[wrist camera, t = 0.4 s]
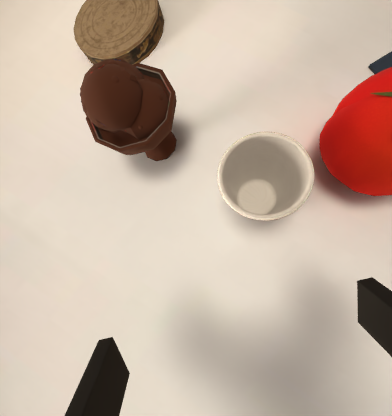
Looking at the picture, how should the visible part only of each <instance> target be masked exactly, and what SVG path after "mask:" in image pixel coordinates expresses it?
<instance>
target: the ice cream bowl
mask: <svg viewBox="0 0 392 416" xmlns="http://www.w3.org/2000/svg"><path fill="white" fill-rule="evenodd" d="M80 90H81V92H80V96H81V102H82V106H83V110H84V112H85V114H86V116H87V117H86V120H87V123H88V125H89V127H90V130H91V132H92V135H93V137H94V139H95V142H98V143H100V144H102V145H104V146H107V147H109V148H111V149H114V150H116V151H118V152H120V153H123V154H125V155H133V154H137V153H141V152H145V153H146V155H147V157H148V158H150V159H153V160H155V161H159V160H163V159H167V158H168V157H169V156H170V155H171V154H172V153H173V152H174V151H175V146H176V138H175V136H174V135H173V133H172V131H171V130H172V124H173V119H174V113H175V107H176V95H175V91H174V89H173V87H172V86H171V84H170V82H169V81H168V79H167V77H166V75H165V74H164V72H163V70H161V69H158V68H154V67H150V66H147V65H143V64H140V63H136V64H133V65H131V64H129V63H128V62H127V61H125V60H124V59H122V58H114V59H106V60H104V61H101V62H99V63H96V64H94V65H93V66H92V67H91V68H90V69H89V71H88V72H87V73H86V74H85V76H84V79H83V83H82V86H81V88H80Z"/></svg>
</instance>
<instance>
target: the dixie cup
mask: <svg viewBox="0 0 392 416" xmlns="http://www.w3.org/2000/svg"><path fill="white" fill-rule="evenodd" d="M217 178H218V186H219V190H220V192H221V195H222V197H223V198H224V200H225V201H226V203H227V204H228V205H229V206H230V207H231V208H232V209H233V210H235V211H236V212H237V213H239V214H241V215H243V216H245V217H248V218H251V219H255V220H264V221H266V220H275V219H279V218H283V217H285V216H287V215H289V214H291V213H293V212H294V211H296V210H297V209H298V208H299V207H301V206H302V205H303V203H304V202H305V201H306V200H307V198H308V196H309V195H310V193H311V190H312V187H313V183H314V168H313V164H312V161H311V158H310V156H309V155H308V153H307V151H306V150H305V149H304V148H303V147H302V146H301V145H300V144H299V143H298V142H297V141H295V140H294V139H292V138H290V137H288V136H286V135H283V134H280V133H275V132H258V133H253V134H250V135H247V136H245V137H243V138H241V139H239V140H238V141H236V142H235V143H234V144H233V145H231V146H230V147H229V149H228V150H227V151H226V152H225V154H224V155H223V157H222V159H221V161H220V164H219V168H218V176H217Z"/></svg>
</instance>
